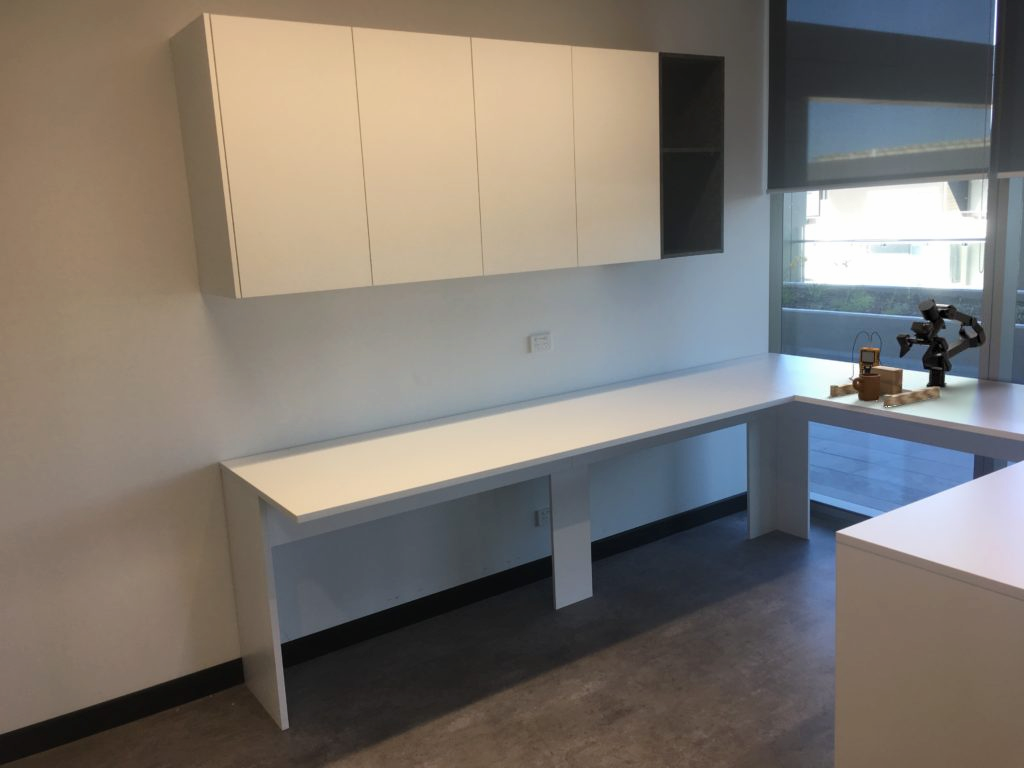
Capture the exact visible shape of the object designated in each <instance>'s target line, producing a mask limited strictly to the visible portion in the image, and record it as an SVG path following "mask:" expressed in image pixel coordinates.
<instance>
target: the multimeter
mask: <svg viewBox="0 0 1024 768" xmlns="http://www.w3.org/2000/svg"><path fill="white" fill-rule="evenodd" d="M861 333H863V331H860V332H859V333H858V334H857V335H856V337H855V340H854V343H853V347H852V351H854V348H855V344H856V341H857V338H858V336H859V335H860V334H861ZM864 333H865V334H867V336H868V337H870V340H868V342H867V347H866V346H865V347H860V348H859V359H858V369H859V373H858V375H859V374H862V373H871V367H876V366H883V365H882V362H881V360H880V359H881V358H880V356H881V351H882V347H879V348H878V347H877V348H875V347H873V344H872V340H873V338H872V337H873V335H874V333H875V334H876V335H877V336H878V338H879V339H880V346H883V345H882V343H883V342H882V339H881V336H880V335H879V334H878V332H876V331H874V332H872V334H871V336H870V334H869V333H868V332H867V331H864ZM852 360H854V352H852ZM854 368H855V367H854V365H852V376H851V377H849V378H848V379H849V380H851V381H853V380H854V370H855V369H854Z"/></svg>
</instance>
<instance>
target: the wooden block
mask: <svg viewBox="0 0 1024 768" xmlns="http://www.w3.org/2000/svg"><path fill="white" fill-rule="evenodd" d="M903 372H904V369H903V368H898V367H891V366H884V365H882V366H881V365H879V366H876V367H871V373H876V374H880V378H881V384H880V396H883V397H884V395H896V394H900V393H902V389H903V380H904V379H903V377H904V376H903V375H904V373H903Z"/></svg>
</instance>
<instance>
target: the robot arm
mask: <svg viewBox="0 0 1024 768" xmlns="http://www.w3.org/2000/svg"><path fill="white" fill-rule="evenodd" d="M917 308H918V311H919V313H920V314H921V315H920V316H921V317H922V319H923V320H924V321H926V322H923V321H912V324H911V326H910V331H911V332H913V336H914V337H911V336H910V334H908V333H898V334H897V336H896V340H897V343H898V345H899V347H900V351H899V358H900V359H901V358H903V357H905V355H906V354H907V353H909V352H910V351H911V348H912V347H913V345H920V346H923V347H924V346H925V347H928V348H927V350H925V353H923V356H922V358H921V361H922V366H923V370H924V371H925V370H927V371H928V382H927V383H926V387H935V386H936V387H940V388H946V386H947V384H948V383H947V382H946V372H947V373H949V372H950V371H952V367H953V365H952V362H951V361H950V359H952V358H954V357H955V356H957V355H959V354H961V353H962V352H964V351H966V350H968V349H971V348H972V349H973V348H979V347H982V346H983V345H984V344H985V342H986V339H987V338H986V334H985V330H984V328H983V327H982V326H981V325H980V324H979V323H978V319H977V317H976V316H973V315H969V314H965V313H964V312H962V311H960V310H959V311H958V310H957V309H958V308H957V307H955V305H953V304H947V303H946V304H943V303H942V304H941V303H936V302H935V300H934V298H928V299H927V300H924V301H922V302H921V303H919V304H918V306H917ZM945 320H948V321H952V322H954V323H956V324H960V328H959V331H958V336H959V339H957V340H956V341H953V342H952V343H950V344H948V341H947V339H946V338H945V337H941V336H939V335H938V334H939V333H940V331H941V330H946V329H947V325H946V322H945ZM966 327H971V329H972V330H973V331H970V330H966V329H965V328H966Z"/></svg>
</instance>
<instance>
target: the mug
mask: <svg viewBox="0 0 1024 768" xmlns="http://www.w3.org/2000/svg"><path fill="white" fill-rule="evenodd" d="M857 382H858V386H857ZM851 383H852V385H853V388H854V389H855V390H857V391H858V392H857V398H858V400H860V401H862V400H864V402H877V401H879V400H880V399H881V395H880V384H881V378H880V374H876V373H862V374H859V373H858V376H857V377H855V378H853V380H852V382H851ZM876 400H877V401H876Z"/></svg>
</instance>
